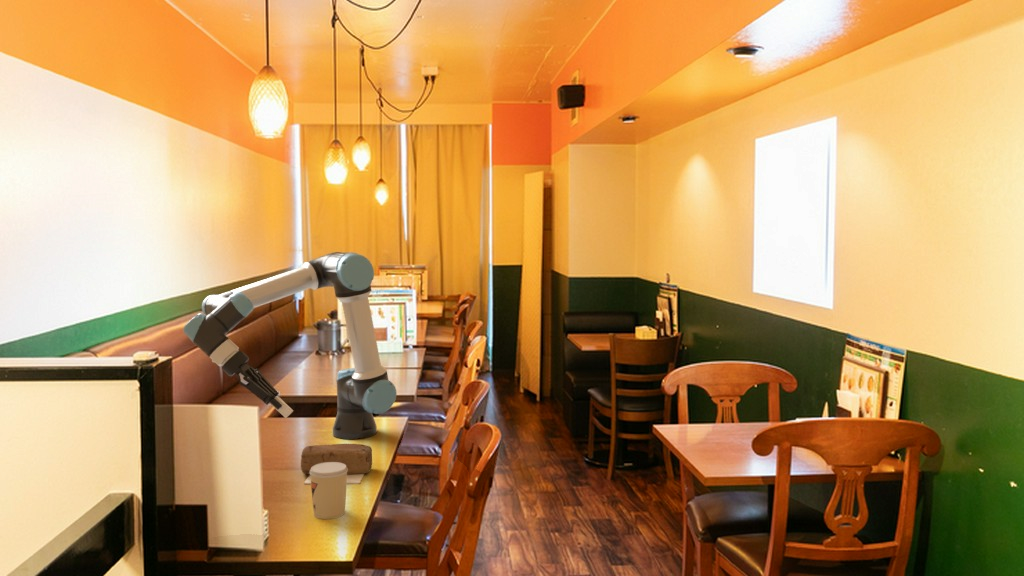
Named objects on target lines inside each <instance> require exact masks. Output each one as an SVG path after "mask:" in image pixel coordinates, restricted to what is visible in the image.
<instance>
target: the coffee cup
mask: <svg viewBox="0 0 1024 576" xmlns="http://www.w3.org/2000/svg"><path fill="white" fill-rule="evenodd" d="M347 471H348V469H347V467H346V465H345V464H343V463H339V462H325V463H320V464H316V465H314V466H312V467H311V470H310V474H309V475H310V477H311V484H310V487H311V498H312V499H311V500H312V510H313V515H314V517H315V518H317V519H321V520H331V519H336V518H340V517H341V516H343V515H345V513H346V498H347Z"/></svg>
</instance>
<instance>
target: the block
mask: <svg viewBox="0 0 1024 576" xmlns="http://www.w3.org/2000/svg"><path fill="white" fill-rule="evenodd" d="M325 462H339V463H343V464H345V465H346V467H347V469H348V471H347V474H360V473H365V474H367V473H370V471H371V470H372V466H373V449H372V447H371V446H370V445H366V444H360V443H331V444H321V445H318V444H317V445H308V446H307V445H306V446H305V447H304V448H303V449H302V451H301V459H300V470H301V472H302V474H304V475H310V470H311V467H312V466H314V465H316V464H320V463H325Z"/></svg>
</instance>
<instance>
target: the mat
mask: <svg viewBox="0 0 1024 576" xmlns="http://www.w3.org/2000/svg"><path fill="white" fill-rule="evenodd" d="M365 474H366V473H360V474H347V484H348V485H349V484H350V485H351V484H352V485H359V484H361V482H362V480H363V478H364V476H365ZM303 484H304V485H311V477H310V474H308V477H307V478H306V479H305V480H304V483H303ZM347 484H346V485H347Z"/></svg>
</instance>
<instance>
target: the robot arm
mask: <svg viewBox="0 0 1024 576" xmlns="http://www.w3.org/2000/svg"><path fill="white" fill-rule="evenodd" d="M374 277H375V271H374V265H373V264H372V263H371V261H370V259H368V258H367V257H365V256H364V255H363V254H359V253H356V252H342V251H336V252H330V253H327V254H325V255H322V256H319V257H317V258H313V259H311V260H308V261H306V262H304V263H303V265H302V266H301V267H298V268H294V269H291V270H288V271H285V272H282V273H279V274H276V275H274V276H271V277H268V278H265V279H262V280H259V281H256V282H253V283H250V284H246V285H242V286H241V287H238V288H235V289H232V290H229V291H226V292H222V293H220V294H214V293H213V294H210V295H207V296H206V297H205V298H204V300H203V301H202V302H201V311H202V312H201V313H197V314H195V316H193V317H192V318H190V320H189V321H188V322H186V324H185V325H184V327H183V334H185V336H187V338H188V339H189V340H190V341H191V342H192V343H193V344H194V345H195V346H196V347H198V349H200V350H201V351H202V352H203V354H205V355H206V356H207V357H209V359H211V362H212V363H213V364H216V365H217V366H218V367H221V370H222V371H223V372H224V373H225V374H226V375H227V376H229V377H232V376H234V375H236V377H237V378H238V379H239V381H238V383H239V385H240V386H242V387H244V388H245V389H247V390H248V391H249V392H250V393H252V394H253V395H254V396H256V397H257V398H258V399H259V400H261V401H262V402H263V403H265V405H266V406H268V405H269V404H270V406H271V407H273V408H274V409H275V410H276V411H277V413H279V414H281V416H283V417H284V418H285V419H287V418H288V417H289V416H290V415H291V414H292V413H294V410H293V409H292V408H291V407H290V406H289V405H288V404H287V403H286V402H285V401H284V400H283V399H282V398H281V397H280V396H279V394H280V392H279V391H277V389H276V388H274V386H273V385H272V384H271V383H270V382H269V381H268V379H267V378H266V377H265V376H264V375H263V374H262V372H261V371H260V370H259V369H258V368H254V367H252V366H250V365H249V364H248V362H249V360H250V357H249V356H248V355H247V354H246V353H245V352H244V351H242V350H239V349H240V347H239V346H238V345H236V343H234V342H233V341H232V340H231V339H230V338H229V337H228V336H227V335H228V333H230V331H231V330H233V329H234V328H235V327H236V326H237V325H239V323H241V322H242V321H243V320H244V319H246V318H247V317H248V316H249V314H251V313H252V312H253V310H254V309H256V308H258V307H261V306H263V305H266V304H269V303H272V302H275V301H278V300H281V299H284V298H286V297H290V296H293V295H295V294H298V293H301V292H303V291H307V290H309V289H311V290H314V291H315V290H319V289H322V288H328V287H329V288H330V287H333V289H334V294H335V298H336V299H337V300H338V301H340V302H341V306H342V311H343V315H344V320H345V327H346V330H347V335H348V340H349V341H348V342H349V345H350V346H349V347H350V350H351V354H352V360H353V366H354V368H346V369H340V370H339V371H337V374H336V375H337V376H336V398H337V401H336V402H337V411H336V412H337V414H336V416H335V420H334V423H333V425H332V436H333V437H335V438H337V439H343V440H359V439H358V438H360V439H366V438H369V437H372V436H375V435H376V434H377V433H378V432H377V431H378V430H377V428H378V427H377V423H376V421H375V418H374V415H373V414H376V415H378V414H385V413H386V412H388V411H389V410H390V409H391V408H392V407H393V405H394V404H395V402H396V399H397V388H396V386H395V385H394V383H393V382H392V381H391V380H389V376H388V371H387V368H386V367H385V366H383V365H382V364H381V359H380V353H379V347H378V342H377V337H376V332H375V328H374V321H373V316H372V312H371V311H372V310H371V306H370V300H369V295H370V294H371V292H372V286H371V284H372V283H373V280H374ZM365 437H366V438H365Z"/></svg>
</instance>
